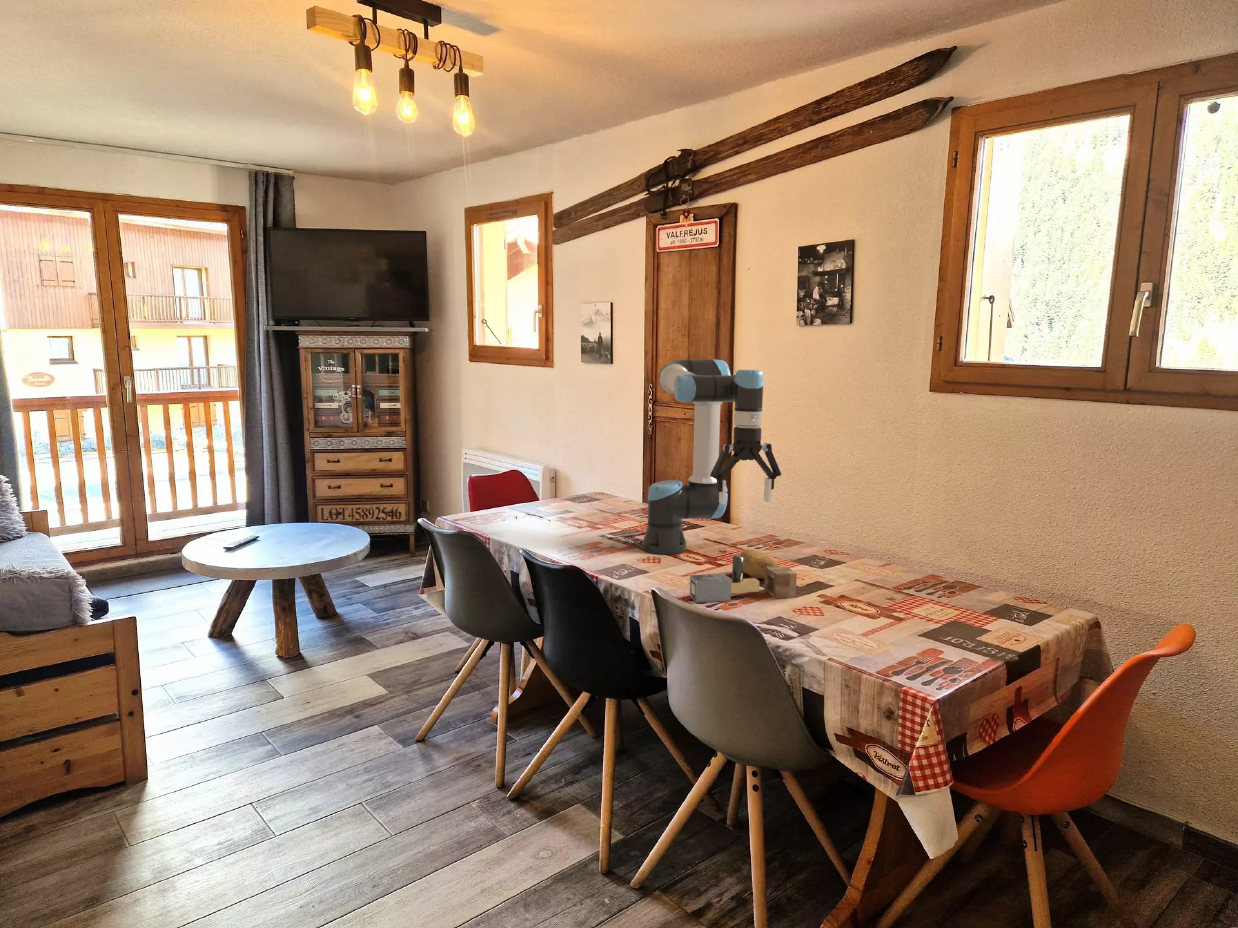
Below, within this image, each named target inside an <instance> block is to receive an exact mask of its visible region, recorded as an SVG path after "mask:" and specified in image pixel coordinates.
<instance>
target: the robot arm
mask: <svg viewBox="0 0 1238 928" xmlns="http://www.w3.org/2000/svg"><path fill="white" fill-rule="evenodd" d="M657 377H658V379H657V380H658V385H659V386H660V388H661V389H662V390H663V391H665V392H667V393H669V394H674V395H673V396H674V399H675V401H676V402H679V403H680V402H681V403H683V402H684V403H692V404H694V418H693V419H694V421H693V423H694V425H693V459H692V460H693V461H692V465H693V466H692V475H691V476H690V477H688V481H687V483H688V484H684V483H683V481H682V480H678V479H675V480H674V479H667V480H661V481H657V482H654V483H652V484H651V485H650V486H649V487H648V495H647V503H648V504H647V527H646V530H645V534H644V536H643V540H642V542H641V543H642V544H641V545H642V546H641V547H642V548H641V549H642V550H643V551H645V552H647V553H651V554H655V555H656V554H657V555H675V554H681V553H684V552H685V551H686V550H687V541H686V540H687V539H686V537H685V534H684V531H683V527H682V526H683V525H682V524H683V523H682V522H683V520H692V519H695V520H696V519H698V520H701V519H706V520H711V519H719V518H721V517H722V516H723V515H724V513H725V511H726V509H727V506H728V498H729V497H728V487H727V480H725V478H726V477H727V475H729V473H730V472H731V470H732V469H733V468H734V467H735V466H736V464H737V463H739V462H740V461H747V460H749V461H755V462H756V463H757V464H758V466H759V467H760V468H761V470H763V472H764V474H765V475H766V476H767V477H764V491H763V501H765V502H767V503H771V501H772V490H774V489H775V480H776V479H777V477H781V476H782V471H781V470H780V467H779V464H778V463H777V460H776V458H775V455H774V454H773V450H772V449H773V448H772V444H771V443H769V442H764V443H761V441H762V427H760V426H762V421H763V403H764V402H763V400H764V399H763V398H764V385H765V382H764V372H763V371H762V370H761V369H738V370H736V371H735V374H732V375H731V371H730V367H729V365H728V363H727V362H726V361H725V360H723V359H715V358H714V359H713V358H711V359H710V358H709V359H704V358H703V359H698V358H697V359H695V358H694V359H690V358H689V359H684V358H683V359H677V360H676V359H675V360H673V361H670V362H668V363H666V364H664V366H662V368H661V369H660V371H659V372H658V376H657ZM723 403H734V415H733V425H735V426H734V427H733V443H732V444H726V443H723V444H722V447H721V451H720V427H721V406H722V404H723ZM732 451H733V453H732V455H731V457H730V459H729V460H728V461H727V458H728V456H729V454H730V453H731V452H732ZM761 451H763V453H764V454H765V457H766V459H767V462H768V463H769V466H770V467H769V466H768V464H767V463H766V462H765V460H764V459H763V457H762V455H761V454H760V452H761ZM726 461H727V462H726ZM725 463H726V464H725Z"/></svg>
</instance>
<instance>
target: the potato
mask: <svg viewBox="0 0 1238 928" xmlns="http://www.w3.org/2000/svg"><path fill="white" fill-rule="evenodd" d="M739 555H740V556H743V557H744V563H743V573H746V574H747V575H748V576H749V577H750V578H756V579H762V580H765V566H779V562H778V560H777V559H776V558H775V557H773V556H771V555H768V554H767V553H765V552H761V551H759V550H757V549H756V550H755V549H752V548H748V549H744V550H742V551H741V552H740V554H739Z"/></svg>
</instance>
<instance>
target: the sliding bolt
mask: <svg viewBox="0 0 1238 928" xmlns="http://www.w3.org/2000/svg"><path fill="white" fill-rule="evenodd" d="M743 563H744V557H743V556H740V554H739V555H737V554H736V555H732V570H731V571H732V573H731V594H741V593H742V594H743V593H757V592H760V580H759V579H758V578H753V577H750V578H749V577H748V578H744V571H743ZM695 588H696V584H695V583H694V582H692V583H691V593H692V594H693V595H694V596H695Z"/></svg>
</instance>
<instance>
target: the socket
mask: <svg viewBox="0 0 1238 928" xmlns="http://www.w3.org/2000/svg"><path fill="white" fill-rule="evenodd" d="M797 575H798V574H797V572H796V571H794V570H793V569H791V568H789V567H788V566H786V565H785V564H784V565H779V564H778V566H765V579H764V584H763V585H764V587H763V588H764V589H763V590H764V591H765V592H766V593H767V594H769V595H770V596H771V597H773V598H774V599H776V600H777V599H791V598H792V599H793V598H796V596H797V577H798V576H797Z"/></svg>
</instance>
